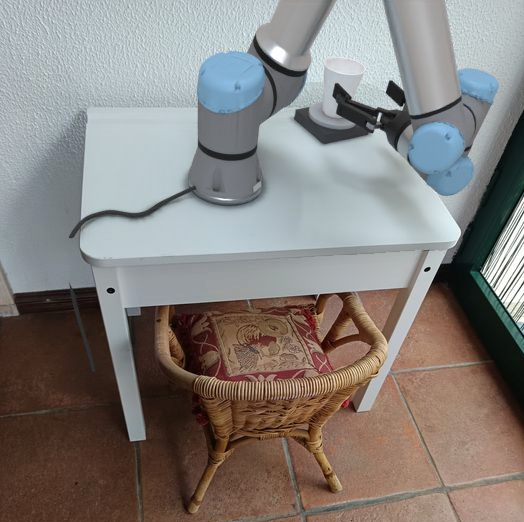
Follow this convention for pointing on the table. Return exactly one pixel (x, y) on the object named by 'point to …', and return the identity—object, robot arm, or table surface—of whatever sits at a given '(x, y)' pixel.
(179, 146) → the table surface
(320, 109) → the scale
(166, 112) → the table surface
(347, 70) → the cup
